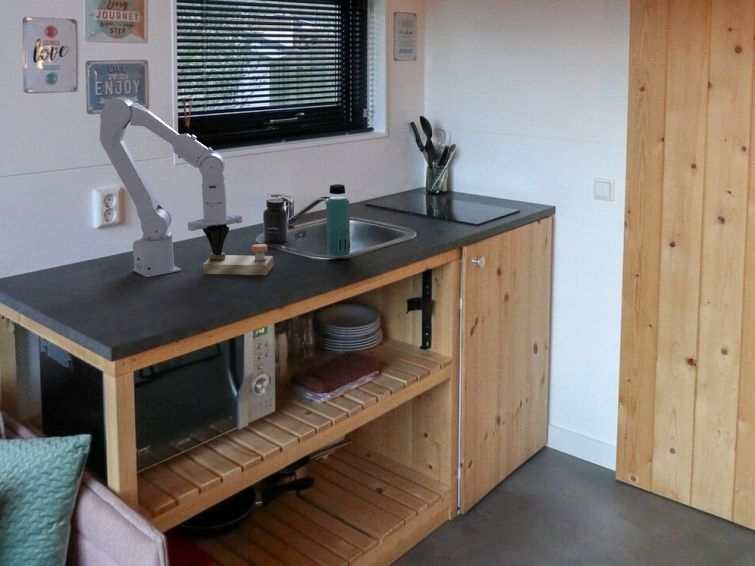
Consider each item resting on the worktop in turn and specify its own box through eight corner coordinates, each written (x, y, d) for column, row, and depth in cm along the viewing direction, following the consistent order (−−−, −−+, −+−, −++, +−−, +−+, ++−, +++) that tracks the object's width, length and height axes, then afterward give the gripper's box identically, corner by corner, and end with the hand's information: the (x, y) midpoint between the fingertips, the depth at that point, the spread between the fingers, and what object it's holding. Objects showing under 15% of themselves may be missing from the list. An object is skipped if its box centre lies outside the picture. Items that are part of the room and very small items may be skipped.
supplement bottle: (268, 245, 243) (267, 203, 240) (260, 239, 249) (258, 199, 245) (291, 242, 246) (290, 201, 243) (282, 237, 252) (281, 197, 248)
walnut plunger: (215, 270, 216) (214, 256, 215) (207, 267, 219) (206, 253, 218) (228, 267, 219) (228, 254, 218) (220, 264, 222) (219, 251, 221)
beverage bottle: (338, 263, 225) (338, 188, 219) (321, 258, 229) (319, 185, 223) (355, 258, 229) (355, 184, 223) (338, 254, 234) (337, 181, 228)
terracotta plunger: (257, 262, 215) (256, 248, 214) (249, 259, 218) (248, 245, 217) (270, 260, 217) (270, 246, 216) (262, 256, 220) (261, 243, 219)
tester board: (203, 273, 215) (203, 264, 214) (213, 264, 224) (212, 254, 223) (266, 275, 214) (265, 265, 213) (273, 265, 222) (273, 256, 222)
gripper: (196, 208, 207) (199, 262, 211) (247, 200, 216) (249, 252, 220) (182, 203, 212) (185, 256, 216) (233, 196, 221) (235, 247, 225)
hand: (217, 254), depth 218 cm, fingers closed, pressing on walnut plunger
